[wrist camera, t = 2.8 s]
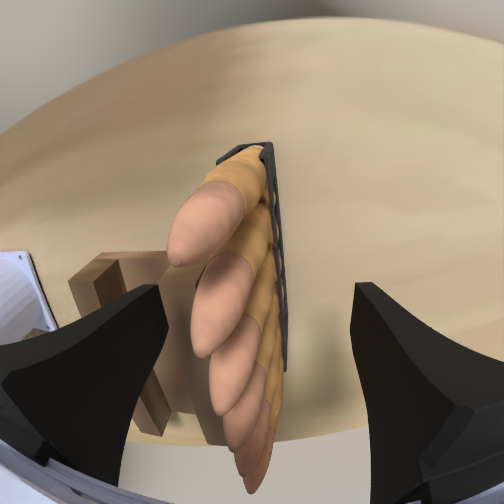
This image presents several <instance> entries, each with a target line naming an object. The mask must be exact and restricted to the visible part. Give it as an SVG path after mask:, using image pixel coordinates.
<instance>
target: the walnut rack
mask: <svg viewBox="0 0 504 504" xmlns="http://www.w3.org/2000/svg"><path fill="white" fill-rule="evenodd" d="M209 258H210V256H209V257H208V258H206V259H205V260H203V261H201V262H200V263H197V264H195V265H192V266H187V267H175V266H173V265H172V264H170V262H169V259H168V255H167V251H149V252H113V253H101V254H100V255H98V256H97V257H96V258H95V259H93V260H92V261H91V262H90V263H89V264H87V265H86V266H85V267H84V268H83V269H81V270H80V271H79V272H78V273H77V274H75V275H74V276H73V277H72V278H71V279H70V280H68V283H69V286H70V289H71V292H72V294H73V297H74V300H75V302H76V305H77V308H78V310H79V313H80V315H81V318H83V317H85V316H86V315H88V314H90V313H92V312H94V311H96V310H97V309H99V308H101V307H103V306H105V305H106V304H108V303H110V302H111V301H113V300H115V299H117V298H118V297H120V296H122V295H123V294H125V293H127V292H129V291H131V290H132V289H134V288H136V287H138V286H141V285H143V284H158V286H159V290H160V294H161V298H162V302H163V306H164V310H165V314H166V317H167V321H168V325H169V330H168V333H167V337H166V340H165V343H164V346H163V349H162V351H161V353H160V355H159V357H158V359H157V361H156V363H155V365H154V367H153V369H152V371H151V373H150V375H149V377H148V379H147V381H146V383H145V385H144V387H143V389H142V391H141V394H140V396H139V398H138V401H137V404H136V407H135V410H134V413H133V416H132V419H133V420H134V422H135V423H136V425H137V427H138V428H139V430H140V431H141V432H142V433H146V434H151V435H156V436H161V437H162V435H163V433H164V430H165V427H166V425H167V422H168V419H169V417H170V414H171V411H175V412H182V413H190V414H196V415H197V418H198V421H199V423H200V426H201V428H202V431H203V433H204V436H205V438H206V441H207V443H208V444H211V445H220V446H228V445H227V442H226V439H225V435H224V428H223V416H218V415H217V414H216V413H215V411H214V409H213V406H212V402H211V398H210V392H209V366H210V359H211V355H210V356H208V357H206V358H199V357H197V356H196V355H195V353H194V350H193V346H192V342H191V334H190V329H191V315H192V308H193V302H194V297H195V294H196V291H197V287H198V284H199V281H200V279H201V277H202V275H203V273H204V271H205V269H206V264H207V262H208V260H209Z"/></svg>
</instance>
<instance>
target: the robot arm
mask: <svg viewBox="0 0 504 504" xmlns="http://www.w3.org/2000/svg"><path fill="white" fill-rule="evenodd" d="M33 328H35V329H40V330H44V331H49V333H46V334H43V335H40V336H37V337H34V338H31V339H27V340H23V339H24V338H25V336H26V335H27V334H28V333H29V332H30V331H31V330H32V329H33ZM168 330H169V325H168V321H167V317H166V314H165V310H164V306H163V302H162V298H161V294H160V290H159V286H158V284H143V285H141V286H138V287H136V288H134V289H132V290H131V291H129V292H127V293H125V294H123V295H122V296H120V297H118V298H117V299H115V300H113V301H111V302H110V303H108V304H106V305H105V306H103V307H101V308H99V309H97V310H96V311H94V312H92V313H90V314H88V315H86V316H85V317H83V318H81V319H79V320H77V321H75V322H73V323H71V324H68V325H66V326H64V327H62V328H59V329H57V326H56V324H55V321H54V319H53V317H52V314H51V312H50V310H49V307H48V305H47V303H46V300H45V298H44V295H43V292H42V290H41V287H40V285H39V282H38V279H37V276H36V273H35V271H34V268H33V265H32V262H31V258H30V256H29V254H28V252H27V251H9V252H0V504H93V503H91V502H90V501H88V500H86V499H89V500H91V501H93V502H95V503H98V504H173V503H169V502H165V501H161V500H157V499H153V498H149V497H146V496H143V495H139V494H136V493H133V492H130V491H127V490H124V489H121V488H118V481H119V473H120V466H121V460H122V455H123V450H124V446H125V441H126V437H127V433H128V430H129V426H130V422H131V419H132V416H133V413H134V410H135V407H136V404H137V401H138V398H139V396H140V394H141V391H142V389H143V387H144V385H145V383H146V381H147V379H148V377H149V375H150V373H151V371H152V369H153V367H154V365H155V363H156V361H157V359H158V357H159V355H160V353H161V351H162V349H163V346H164V343H165V340H166V337H167V333H168ZM350 336H351V343H352V350H353V355H354V359H355V363H356V367H357V370H358V374H359V378H360V382H361V386H362V390H363V394H364V398H365V402H366V408H367V414H368V424H369V435H370V449H371V450H370V452H371V495H370V504H504V362H502V361H499V360H496V359H493V358H490V357H488V356H485V355H482V354H480V353H477V352H475V351H473V350H471V349H468V348H466V347H464V346H462V345H460V344H458V343H456V342H454V341H452V340H450V339H449V338H447V337H445V336H444V335H442V334H440V333H439V332H437V331H435V330H434V329H432V328H431V327H429V326H427V325H426V324H425V323H423V322H422V321H420V320H419V319H418V318H416V317H415V316H413V315H412V314H411V313H410V312H408V311H407V310H406V309H404V308H403V307H402V306H401V305H399V304H398V303H397V302H396V301H395V300H393V299H392V298H391V297H390V296H389V295H387V294H386V293H385V292H384V291H383V290H381V289H380V288H379V287H378V286H376V285H375V284H374V283H372V282H362V283H355V290H354V299H353V308H352V316H351V323H350ZM22 340H23V341H22ZM81 496H82V497H84V498H86V499H84V498H82V497H81Z"/></svg>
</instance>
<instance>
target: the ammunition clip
mask: <svg viewBox="0 0 504 504" xmlns="http://www.w3.org/2000/svg"><path fill="white" fill-rule="evenodd" d="M167 255H168V259H169V262H170V264H172V265H173V266H175V267H187V266H192V265H195V264H197V263H200V262H201V261H203V260H205V259H206V258H208V257H209V256H210V258H209V260H208V262H207V264H206V269H205V271H204V273H203V275H202V277H201V279H200V281H199V284H198V287H197V291H196V294H195V297H194V302H193V308H192V315H191V329H190V334H191V342H192V346H193V350H194V353H195V355H196V356H197V357H199V358H206V357H208V356H210V355H211V359H210V366H209V392H210V398H211V402H212V406H213V409H214V411H215V413H216V414H217V415H218V416H223V428H224V435H225V439H226V442H227V445H228V448H229V450H230V451H231V452H233V453H234V457H235V463H236V466H237V469H238V472H239V474H240V475H241V476H242V477H243V481H244V484H245V487H246V490H247V492H248V493H249V494H254V493H255V492H256V490H257V489H258V488H259V486H260V485H261V483H262V481H263V479H264V476H265V474H266V472H267V469H268V466H269V462H270V458H271V454H272V448H273V440H274V433H275V429H276V422H277V417H278V414H279V411H280V407H281V402H282V386H283V372H286V369H287V338H288V308H287V294H286V280H285V266H284V254H283V242H282V230H281V219H280V208H279V197H278V187H277V177H276V167H275V158H274V149H273V144H272V143H271V142H262V143H252V144H243V145H238V146H236V147H235V148H234V149H232V150H231V151H229V152H228V153H227V154H225V155H224V156H223V157H221V158H220V159H218V160H217V161H216V167H215V168H213V169H212V170H211V171H210V172H209V173H208V175H207V176H206V178H205V180H204V181H203V183H202V184H201V185H200V186H199V187H198V189H197V191H195V192H194V193H193V194H192V195H191V196H190V197H189V198H188V199H187V200H186V201H185V203H184V204H183V205H182V207H181V208H180V210H179V212H178V214H177V215H176V217H175V219H174V221H173V223H172V226H171V229H170V232H169V235H168V242H167Z"/></svg>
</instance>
